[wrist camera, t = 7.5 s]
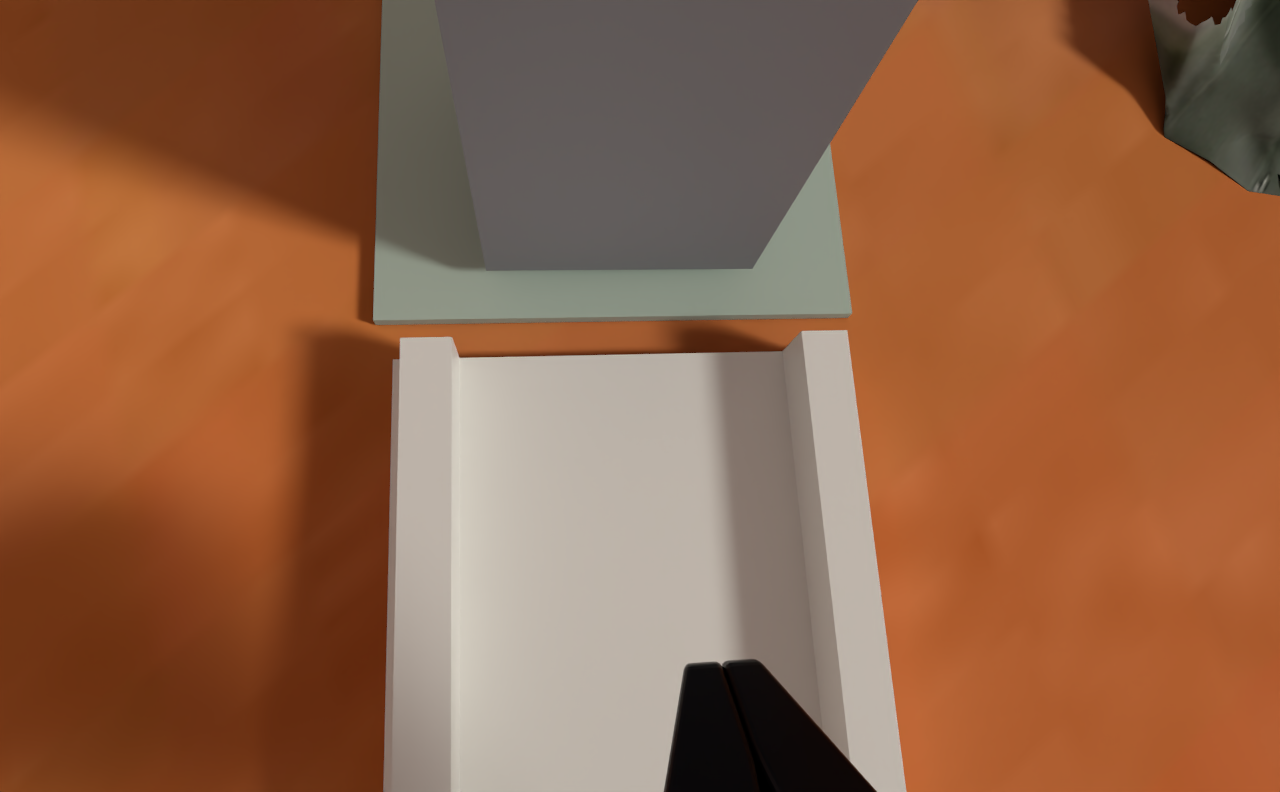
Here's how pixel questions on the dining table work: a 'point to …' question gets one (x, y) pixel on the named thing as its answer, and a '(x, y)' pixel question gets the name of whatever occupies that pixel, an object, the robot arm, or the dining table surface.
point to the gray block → (650, 121)
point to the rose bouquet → (1224, 88)
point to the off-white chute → (622, 560)
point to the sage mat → (466, 293)
